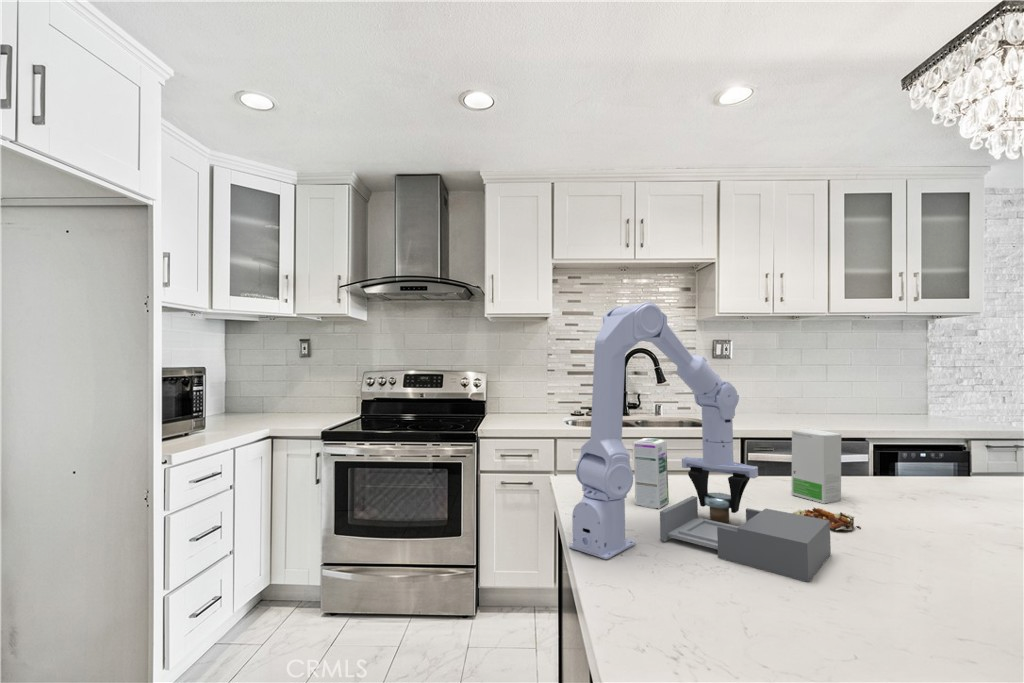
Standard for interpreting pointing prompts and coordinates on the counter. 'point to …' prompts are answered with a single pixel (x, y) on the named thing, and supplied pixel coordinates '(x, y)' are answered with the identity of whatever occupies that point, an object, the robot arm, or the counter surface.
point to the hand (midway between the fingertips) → (719, 508)
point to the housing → (777, 543)
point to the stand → (719, 515)
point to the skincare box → (816, 465)
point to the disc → (717, 500)
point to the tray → (689, 524)
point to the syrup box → (651, 472)
